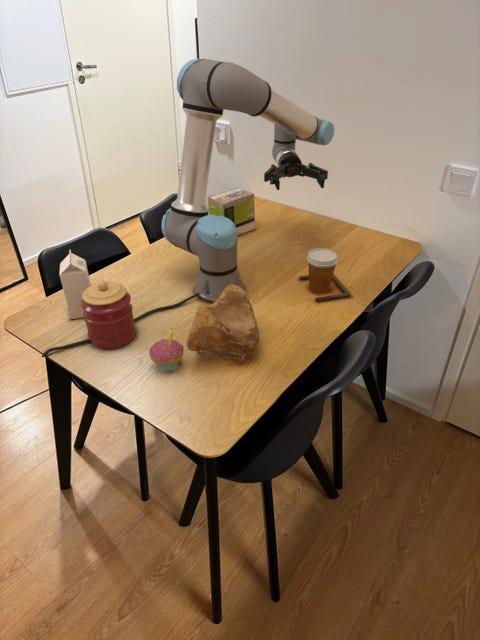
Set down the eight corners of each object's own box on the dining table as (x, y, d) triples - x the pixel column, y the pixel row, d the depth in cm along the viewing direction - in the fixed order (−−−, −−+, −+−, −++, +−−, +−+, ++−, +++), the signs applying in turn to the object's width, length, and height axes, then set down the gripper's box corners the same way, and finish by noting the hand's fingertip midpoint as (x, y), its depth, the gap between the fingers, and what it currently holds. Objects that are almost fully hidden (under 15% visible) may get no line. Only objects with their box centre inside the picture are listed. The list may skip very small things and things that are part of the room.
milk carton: (70, 319, 144) (56, 262, 133) (71, 307, 150) (56, 250, 139) (95, 315, 146) (83, 258, 135) (94, 303, 151) (82, 247, 140)
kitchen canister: (90, 354, 131) (76, 298, 121) (88, 326, 141) (75, 273, 131) (139, 345, 134) (130, 289, 124) (133, 319, 144) (125, 266, 134)
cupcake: (185, 354, 130) (182, 317, 123) (183, 376, 123) (179, 337, 116) (153, 355, 130) (147, 318, 123) (149, 377, 123) (143, 339, 116)
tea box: (239, 221, 200) (238, 186, 191) (255, 229, 193) (255, 193, 185) (209, 232, 192) (207, 195, 183) (225, 240, 185) (224, 203, 177)
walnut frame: (316, 302, 150) (317, 299, 149) (299, 278, 162) (299, 276, 161) (350, 297, 152) (351, 294, 152) (331, 274, 164) (331, 271, 163)
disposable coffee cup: (336, 282, 159) (340, 249, 152) (332, 298, 152) (336, 263, 145) (307, 279, 161) (309, 246, 154) (302, 294, 154) (304, 260, 147)
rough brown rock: (234, 388, 120) (238, 340, 112) (178, 363, 126) (178, 315, 118) (275, 340, 137) (282, 295, 129) (224, 319, 143) (227, 275, 135)
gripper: (324, 172, 169) (340, 194, 151) (252, 175, 167) (259, 198, 150) (326, 150, 164) (342, 170, 147) (252, 153, 163) (259, 174, 145)
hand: (300, 184), depth 148 cm, fingers open, 13 cm apart
